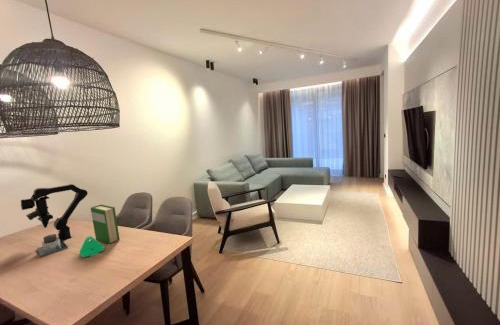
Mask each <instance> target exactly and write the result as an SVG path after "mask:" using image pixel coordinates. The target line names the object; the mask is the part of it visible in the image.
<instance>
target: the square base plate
mask: <svg viewBox="0 0 500 325" xmlns="http://www.w3.org/2000/svg"><path fill="white" fill-rule="evenodd" d="M41 245H42V246H40V247H37V248H36V251H37V252H38V255H39V256H40V258H43V257H46V256H48V255H52V254H54V253H57V252H60V251H62V250H67V249H69V246H68V245H67V244H66V243H65V242H64V240H62V241H61V240H60V239H59V238H58V237H57V240H55V241H53V242H49V243H44V240H43V241H42V242H41Z"/></svg>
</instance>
